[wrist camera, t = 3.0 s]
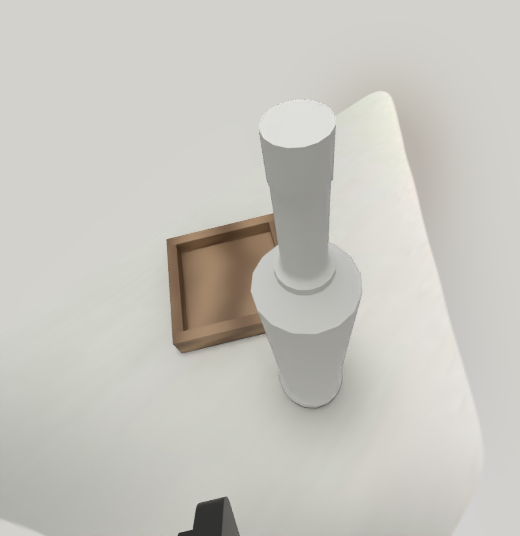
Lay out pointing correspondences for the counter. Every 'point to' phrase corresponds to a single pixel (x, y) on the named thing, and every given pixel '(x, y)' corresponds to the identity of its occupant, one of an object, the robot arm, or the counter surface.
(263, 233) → the walnut tray
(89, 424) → the counter surface
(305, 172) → the bottle
